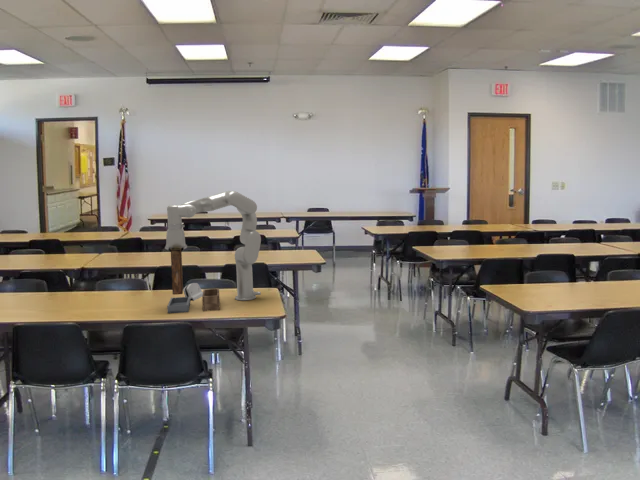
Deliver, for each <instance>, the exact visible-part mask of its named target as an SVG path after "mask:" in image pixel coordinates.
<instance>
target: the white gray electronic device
mask: <svg viewBox="0 0 640 480" xmlns="http://www.w3.org/2000/svg"><path fill="white" fill-rule="evenodd" d="M183 294H184V297H190V300H192V301H197V300H198V299H200V298H202V296H203V291H202V288H201V286H200V285H199V283H197V282H192V283H189V284H187V285H185V287H183Z"/></svg>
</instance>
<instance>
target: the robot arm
mask: <svg viewBox="0 0 640 480" xmlns="http://www.w3.org/2000/svg"><path fill="white" fill-rule="evenodd" d="M229 206H233V207H234V208H236V209H237V211H238V213H239V214H240V215H241V218H242V225H241V229H240V233H239V234H240V235H239V241H240V243H241V244H243V245H244V246H241V247H238V248H237V249H236V250H235V251H234V262H235V267H236V268H235V269H236V288H237V289H236V291H237V294H236V295H235V298H234V299H235V300H236V301H251V300H252V301H253V300H255V299H256V298H257V297H256V296H261V295H262V293H261V291H255V290H254V281H253V279H254V278H253V265H254V264H255V263H256V262H257V260H258V258H259V253H260V248H261V244H262V243H261V242H262V237H261V234H260V232H258V231H257V225H258V217H257V213H256V211H257V209H258V205H257V203H256V202H255V200H253V199H251V198H249V197H247V196H245V195H243V194H242V193H239V192H238V191H235V190H227V191H226V190H225V191H223V192H220V193H216V194H213V195H209V196H206V197H202V198H198V199H195V200H190V201H188V202H183V203H181V204H171V205H170V204H169V205H167V207H166V212H167V230H166V238H165V239H166V241H165V242H166V244H165V246H164V249H165V250H167V251H169V252H170V253H171V248H172V249H174V247H179V249H180V248H181V252H183V250H185V249H187V248H188V244H186V236H185V230H184V229H183V228H185V224H183V221H182V219H183V218H186V219H188V218H193V217H194V216H196V214H198V213H203V212H206V213H207V212H213V211H217V210H220V209H223V208H226V207H229Z"/></svg>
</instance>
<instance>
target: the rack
mask: <svg viewBox="0 0 640 480" xmlns="http://www.w3.org/2000/svg"><path fill="white" fill-rule="evenodd" d="M202 292H203V296H202V297H201V299H202V311H203V312H207V310H210V311H220V307H219V306H221V305H220V304H221V303H220V301H221V300H220V288H207V289H205V288H204V289H203V291H202Z"/></svg>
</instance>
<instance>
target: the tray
mask: <svg viewBox="0 0 640 480" xmlns="http://www.w3.org/2000/svg"><path fill="white" fill-rule="evenodd" d="M190 307H191V299H190V297H185V296H182V297H181V296H179V297H170V299H169V301H168V304H167V308H166V309H167V314H181V313H182V314H183V313H189V310H190Z"/></svg>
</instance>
